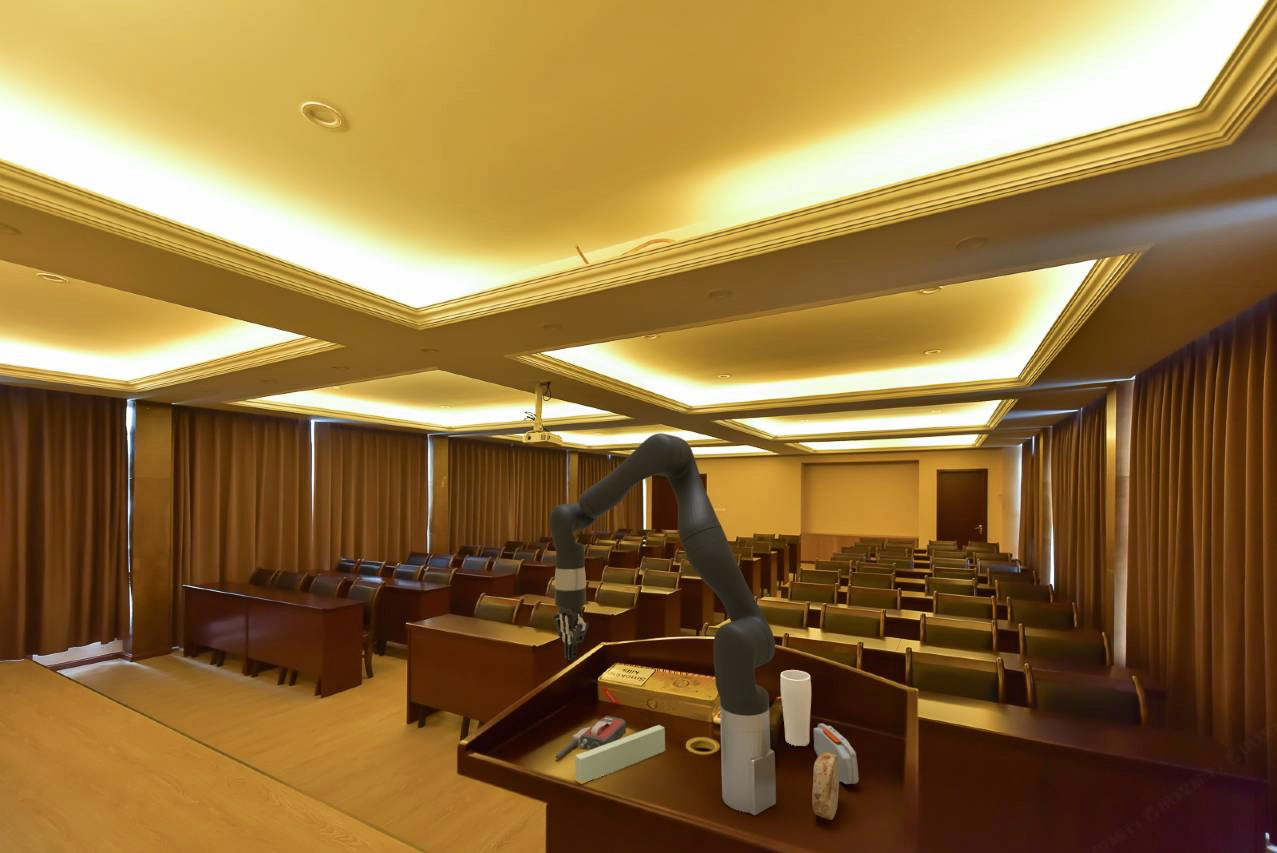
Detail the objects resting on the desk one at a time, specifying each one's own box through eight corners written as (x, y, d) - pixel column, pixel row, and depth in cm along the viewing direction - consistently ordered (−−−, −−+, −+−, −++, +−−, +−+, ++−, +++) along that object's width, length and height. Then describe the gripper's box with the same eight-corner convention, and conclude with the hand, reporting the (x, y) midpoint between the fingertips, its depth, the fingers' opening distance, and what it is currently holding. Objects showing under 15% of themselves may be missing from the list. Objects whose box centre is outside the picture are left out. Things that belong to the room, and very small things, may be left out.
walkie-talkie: (597, 724, 143) (552, 762, 125) (597, 706, 144) (552, 741, 126) (629, 731, 140) (587, 771, 122) (629, 712, 140) (587, 749, 122)
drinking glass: (818, 741, 132) (815, 674, 133) (804, 752, 127) (801, 682, 128) (791, 732, 137) (789, 667, 138) (776, 742, 132) (774, 675, 133)
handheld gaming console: (860, 792, 112) (859, 749, 113) (846, 793, 112) (845, 750, 112) (823, 755, 126) (822, 717, 127) (811, 757, 126) (809, 718, 126)
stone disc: (822, 795, 111) (820, 741, 112) (842, 801, 109) (840, 746, 110) (809, 825, 102) (807, 766, 102) (831, 831, 100) (829, 771, 101)
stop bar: (665, 751, 129) (664, 727, 129) (580, 785, 116) (580, 759, 116) (659, 747, 131) (658, 724, 131) (575, 781, 117) (575, 755, 117)
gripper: (598, 588, 139) (599, 662, 138) (569, 579, 150) (569, 648, 148) (571, 592, 134) (571, 669, 133) (543, 583, 145) (543, 654, 144)
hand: (570, 658), depth 141 cm, fingers closed
